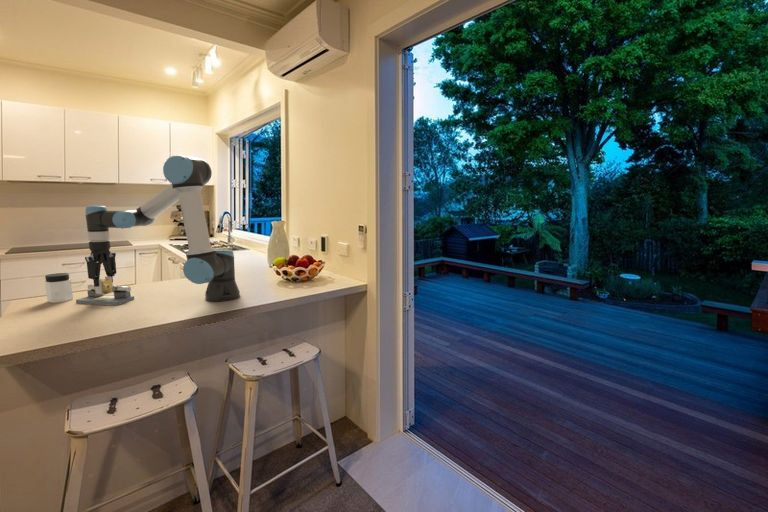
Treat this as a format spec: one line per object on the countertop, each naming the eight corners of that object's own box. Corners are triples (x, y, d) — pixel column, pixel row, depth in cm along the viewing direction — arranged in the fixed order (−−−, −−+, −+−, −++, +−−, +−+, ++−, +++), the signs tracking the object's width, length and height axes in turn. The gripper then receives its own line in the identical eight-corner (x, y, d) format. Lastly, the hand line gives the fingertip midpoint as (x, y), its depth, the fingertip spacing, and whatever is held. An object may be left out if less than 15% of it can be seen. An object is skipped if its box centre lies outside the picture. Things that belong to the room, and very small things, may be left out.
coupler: (113, 292, 171) (111, 279, 170) (104, 294, 166) (102, 281, 165) (104, 291, 172) (102, 278, 171) (94, 294, 167) (93, 281, 166)
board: (134, 299, 173) (133, 295, 173) (116, 305, 163) (115, 301, 163) (96, 297, 176) (96, 293, 176) (76, 303, 166) (75, 299, 166)
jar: (45, 304, 164) (42, 277, 162) (49, 299, 171) (45, 274, 169) (71, 301, 169) (68, 275, 167) (74, 297, 176) (71, 272, 174)
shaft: (87, 296, 172) (85, 284, 171) (95, 294, 175) (94, 282, 174) (95, 297, 169) (94, 285, 168) (104, 296, 173) (103, 284, 172)
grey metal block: (132, 296, 172) (131, 284, 171) (128, 298, 169) (126, 286, 168) (117, 296, 172) (116, 284, 171) (112, 298, 168) (111, 286, 167)
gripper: (109, 238, 174) (113, 286, 178) (72, 242, 157) (78, 296, 161) (123, 238, 173) (127, 287, 177) (88, 243, 156) (94, 297, 160)
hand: (104, 291), depth 169 cm, fingers closed on coupler, 5 cm apart
